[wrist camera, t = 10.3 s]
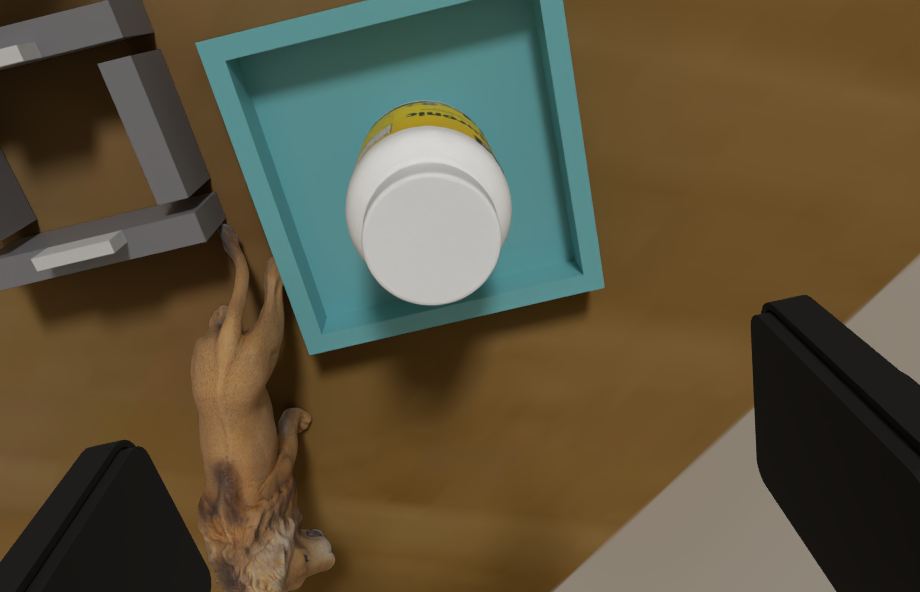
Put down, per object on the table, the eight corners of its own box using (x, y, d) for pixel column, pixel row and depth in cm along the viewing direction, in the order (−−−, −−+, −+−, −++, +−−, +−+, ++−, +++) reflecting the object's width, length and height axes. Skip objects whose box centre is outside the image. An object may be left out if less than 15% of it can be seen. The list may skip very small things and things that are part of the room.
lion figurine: (353, 479, 35) (335, 627, 27) (252, 495, 35) (203, 648, 27) (282, 210, 29) (231, 296, 21) (160, 229, 29) (61, 323, 21)
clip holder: (141, -1, 25) (92, 0, 21) (225, 218, 29) (197, 252, 25) (-82, 54, 26) (-169, 65, 22) (30, 264, 29) (-28, 305, 25)
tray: (543, -44, 26) (555, -47, 23) (591, 266, 31) (604, 287, 29) (213, 38, 26) (195, 43, 24) (316, 329, 31) (309, 355, 29)
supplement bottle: (517, 150, 28) (566, 225, 19) (438, 250, 29) (450, 362, 21) (410, 67, 26) (409, 106, 17) (333, 178, 28) (297, 266, 19)
